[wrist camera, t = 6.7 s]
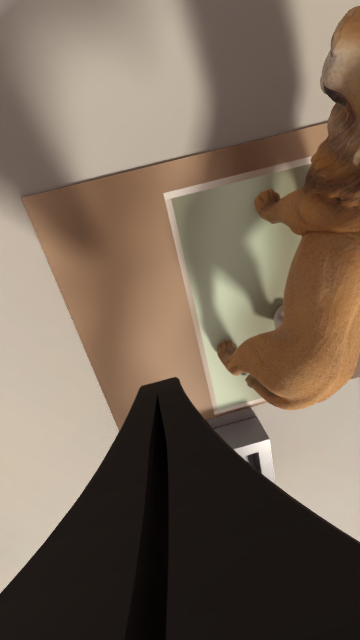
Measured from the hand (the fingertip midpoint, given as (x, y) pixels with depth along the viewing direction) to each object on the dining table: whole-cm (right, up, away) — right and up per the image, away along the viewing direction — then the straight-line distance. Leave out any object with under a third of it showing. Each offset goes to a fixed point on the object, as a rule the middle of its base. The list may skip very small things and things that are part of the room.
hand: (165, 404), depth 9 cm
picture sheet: (+4, +4, +6) cm, 8 cm away
